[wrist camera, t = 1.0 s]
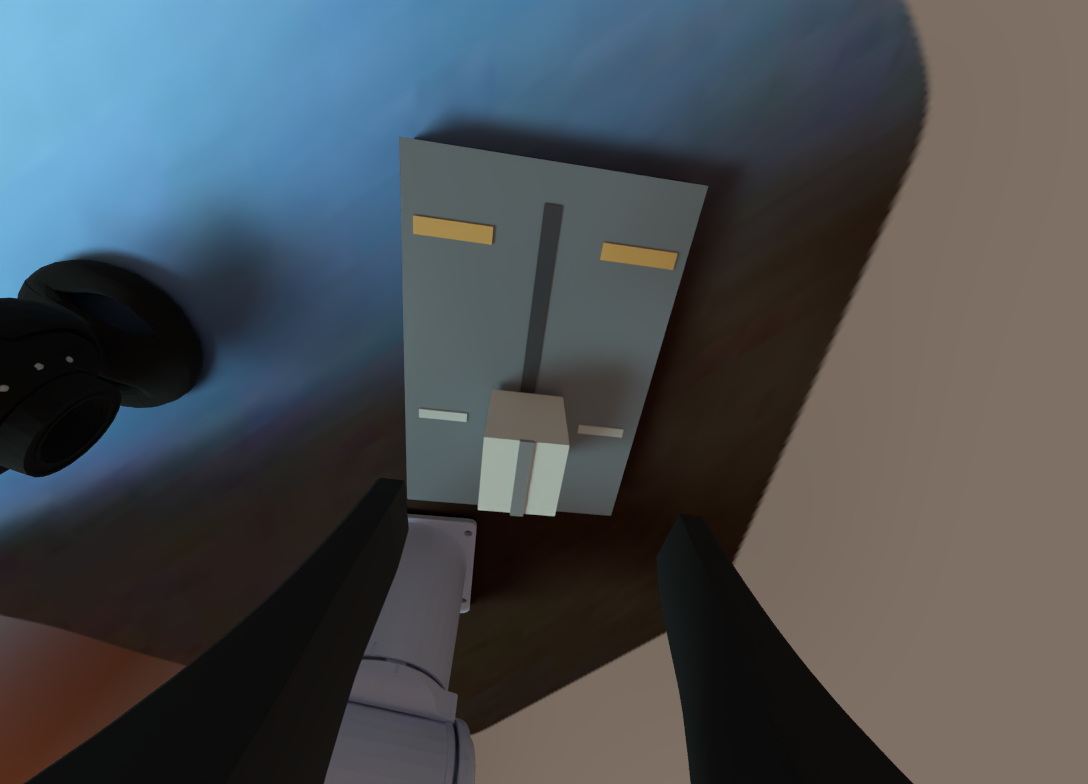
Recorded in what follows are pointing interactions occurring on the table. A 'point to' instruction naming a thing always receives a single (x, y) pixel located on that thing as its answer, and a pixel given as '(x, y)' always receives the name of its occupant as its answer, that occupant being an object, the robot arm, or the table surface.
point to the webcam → (83, 363)
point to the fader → (523, 453)
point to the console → (532, 307)
